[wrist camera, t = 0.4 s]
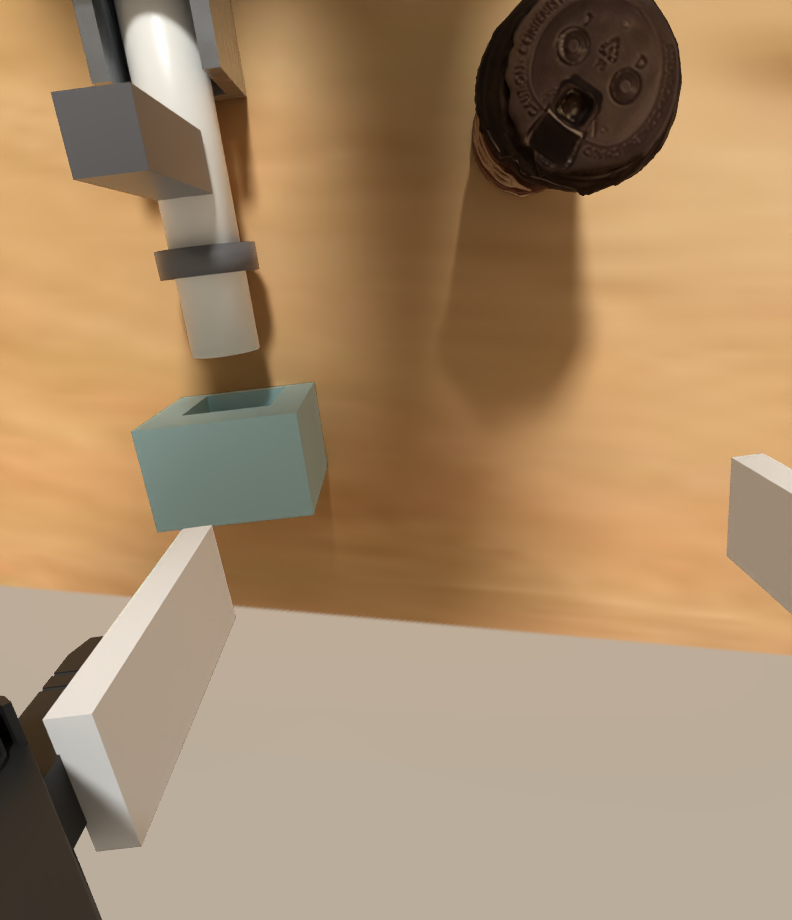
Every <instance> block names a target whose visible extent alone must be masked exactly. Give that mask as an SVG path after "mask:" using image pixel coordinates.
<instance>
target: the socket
mask: <svg viewBox="0 0 792 920" xmlns="http://www.w3.org/2000/svg"><path fill="white" fill-rule="evenodd" d="M131 433H132V437H133V441H134V445H135V449H136V453H137V456H138V460H139V464H140V468H141V472H142V475H143V479H144V483H145V487H146V491H147V494H148V498H149V502H150V506H151V510H152V513H153V517H154V521H155V525H156V529H157V532H165V531H174V530H182V529H185V528H193V527H200V526H208V525H212V526H219V525H228V524H237V523H246V522H255V521H264V520H273V519H282V518H291V517H300V516H310V515H314V512H315V509H316V505H317V502H318V498H319V495H320V492H321V488H322V485H323V481H324V478H325V474H326V471H327V467H328V464H327V458H326V452H325V446H324V439H323V433H322V427H321V420H320V414H319V408H318V401H317V395H316V389H315V383H314V382H310V383H302V384H293V385H285V386H276V387H267V388H259V389H250V390H241V391H233V392H224V393H216V394H207V395H198V396H190V397H182V398H180V399H179V400H177V401H176V402H174V403H173V404H171V405H170V406H168V407H167V408H165V409H164V410H162V411H161V412H160V413H158V414H157V415H155V416H154V417H152V418H151V419H149V420H148V421H146V422H145V423H143V424H142V425H140V426H139V427H137V428H136V429H134V430H133V431H131Z"/></svg>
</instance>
